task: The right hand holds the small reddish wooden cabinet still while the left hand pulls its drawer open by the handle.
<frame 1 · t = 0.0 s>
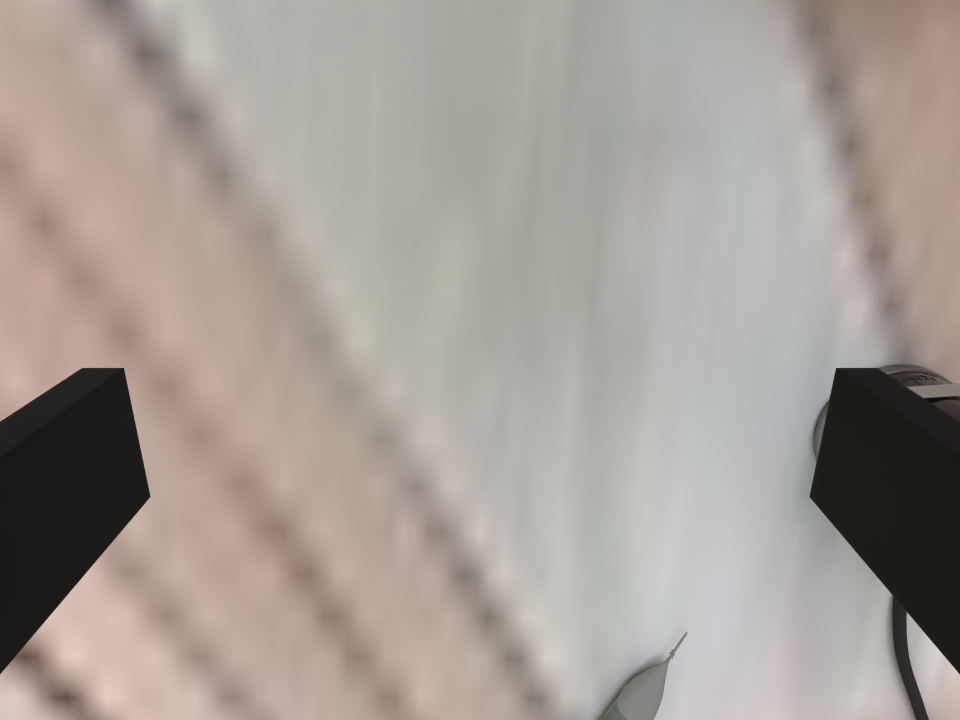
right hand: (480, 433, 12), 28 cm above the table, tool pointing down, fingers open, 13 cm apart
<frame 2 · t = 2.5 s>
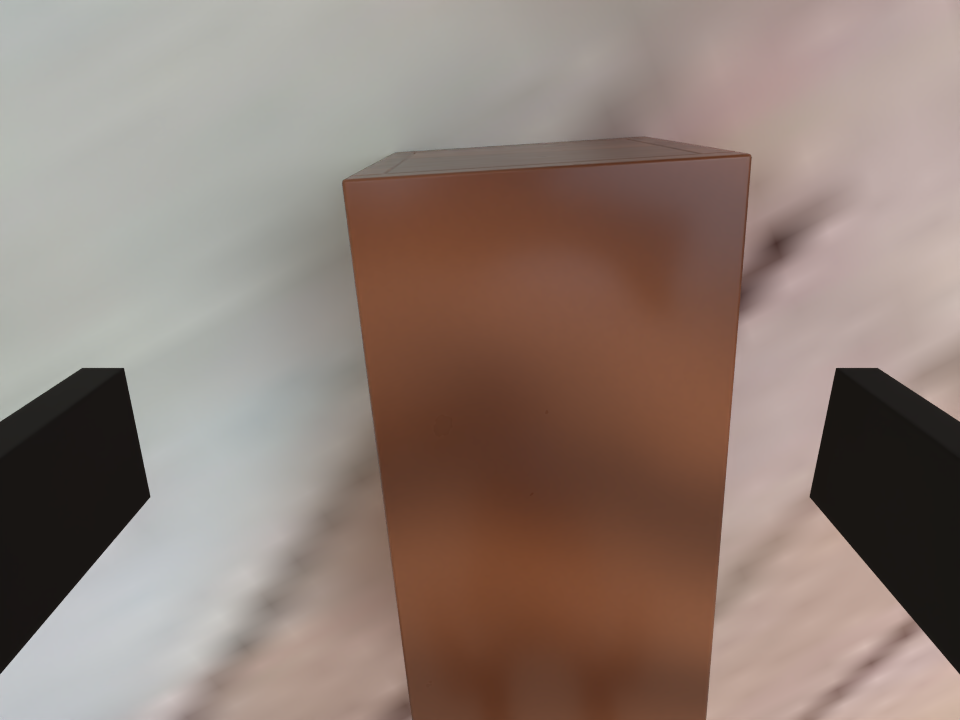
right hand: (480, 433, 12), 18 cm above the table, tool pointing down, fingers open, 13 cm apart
cabinet: (527, 364, 31), on the table
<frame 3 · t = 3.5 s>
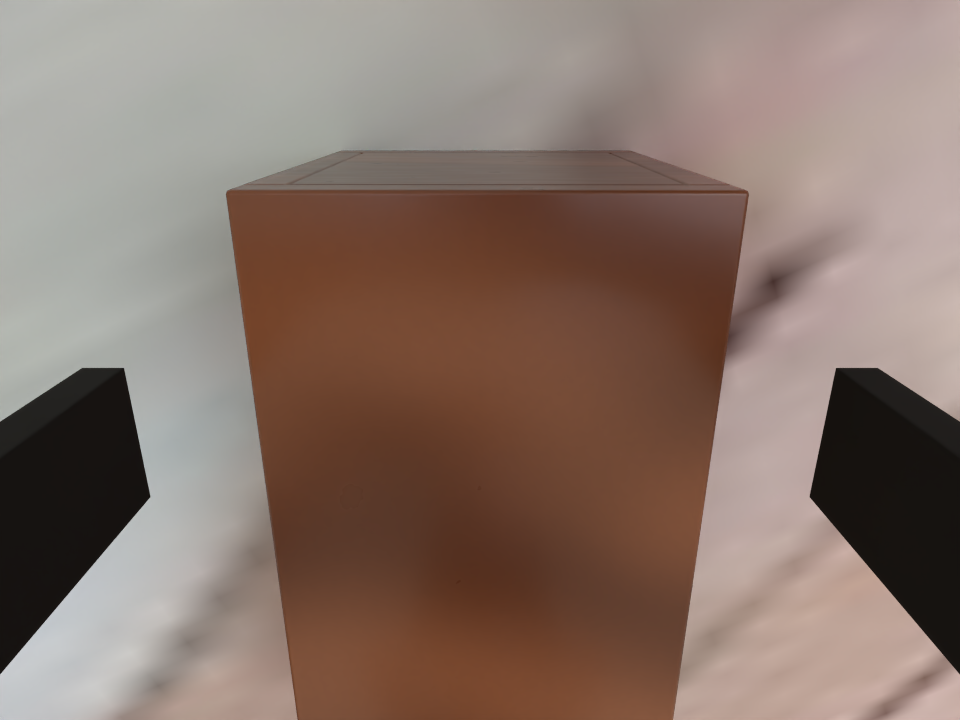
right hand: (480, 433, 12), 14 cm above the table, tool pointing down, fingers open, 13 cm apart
cabinet: (485, 399, 28), on the table
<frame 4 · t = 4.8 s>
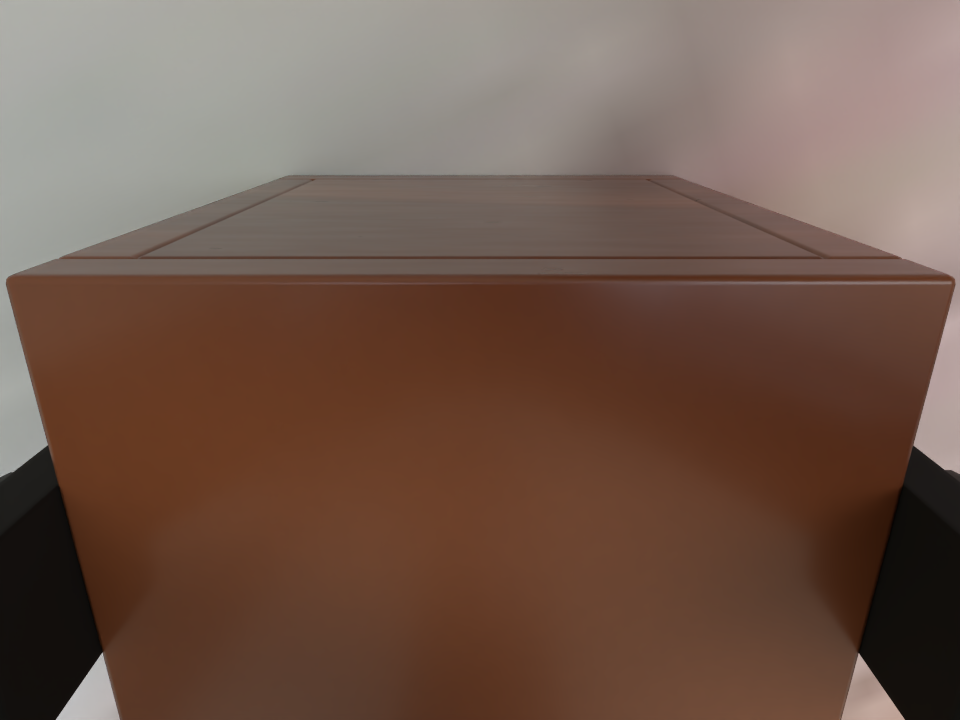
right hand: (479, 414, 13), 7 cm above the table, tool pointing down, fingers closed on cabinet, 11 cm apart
cabinet: (480, 489, 21), on the table, touching right hand
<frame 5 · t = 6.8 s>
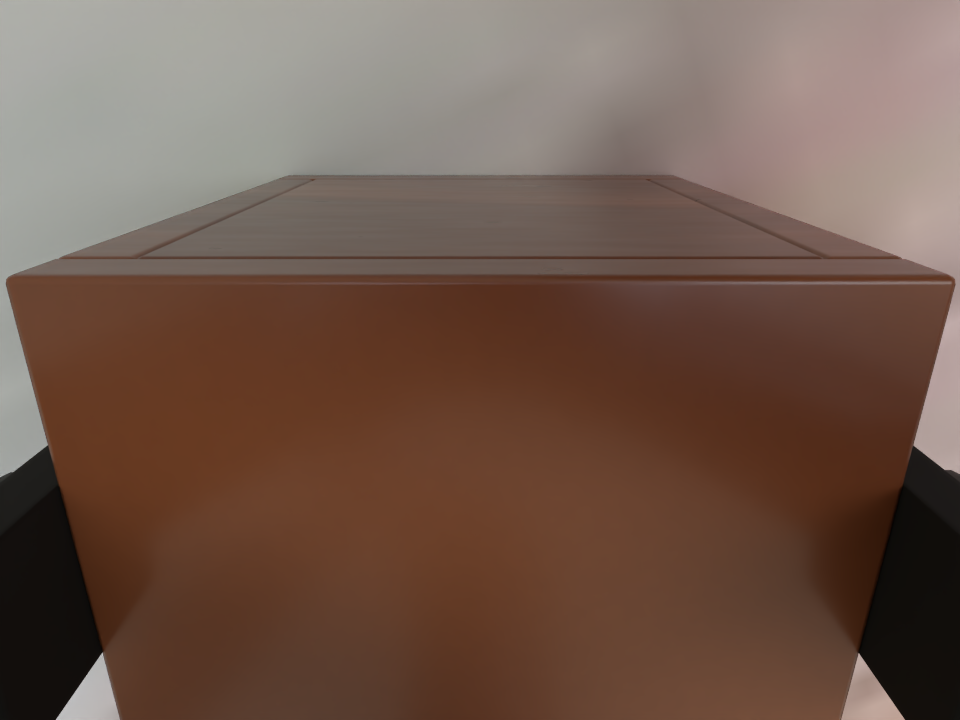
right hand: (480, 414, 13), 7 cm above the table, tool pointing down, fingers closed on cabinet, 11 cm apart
cabinet: (480, 489, 21), on the table, touching right hand
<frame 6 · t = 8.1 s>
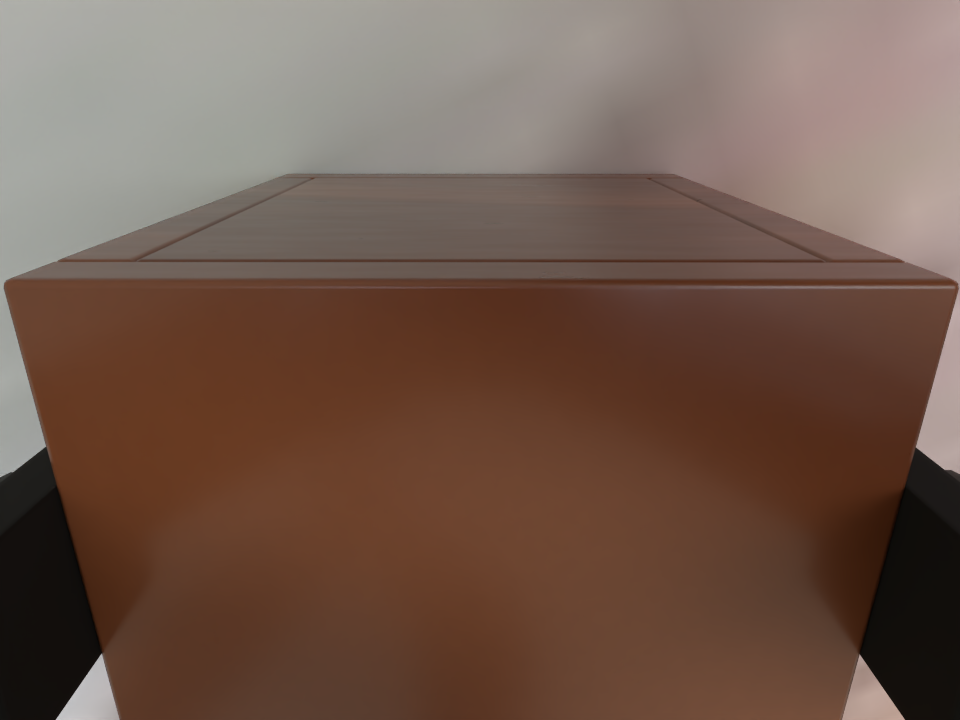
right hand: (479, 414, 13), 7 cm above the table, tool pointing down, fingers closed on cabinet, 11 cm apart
cabinet: (480, 488, 21), on the table, touching right hand
when the right hand's fingers open (7 cm above the table, at t = 9.6 s): cabinet stays where it is, on the table.
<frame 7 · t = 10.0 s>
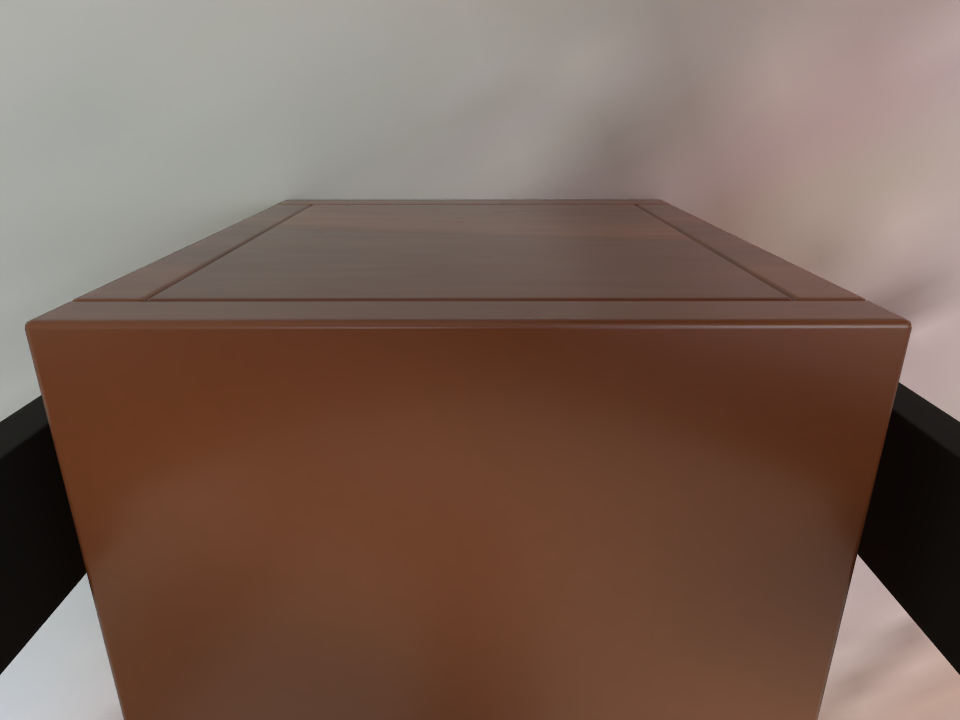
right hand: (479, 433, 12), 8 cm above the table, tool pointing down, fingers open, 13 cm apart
cabinet: (474, 503, 22), on the table
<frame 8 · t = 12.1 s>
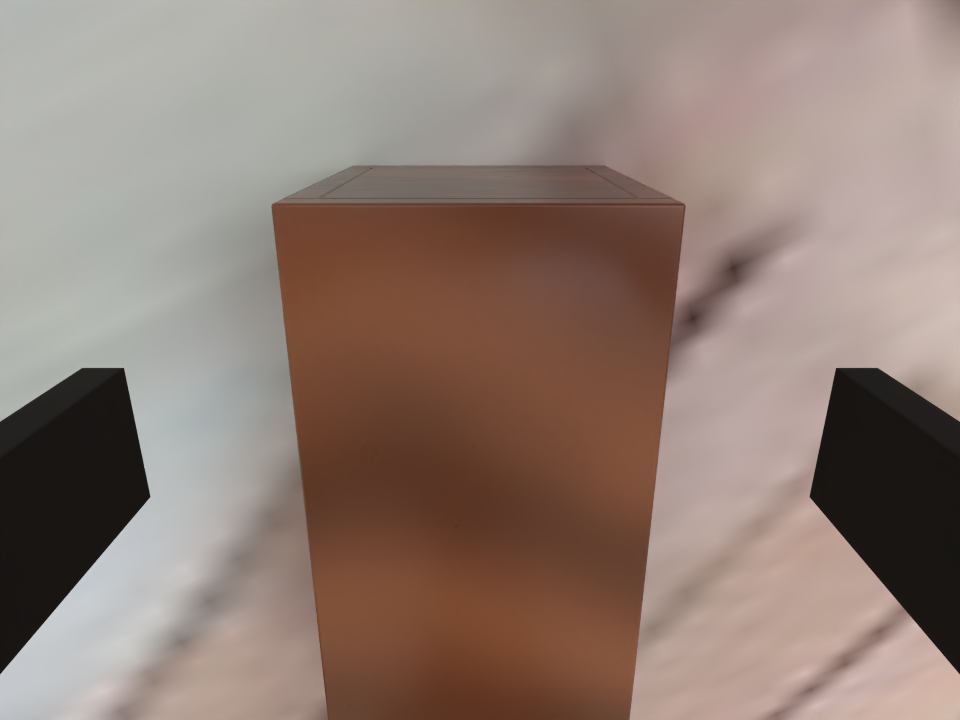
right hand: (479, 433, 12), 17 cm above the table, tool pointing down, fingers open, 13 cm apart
cabinet: (479, 384, 31), on the table
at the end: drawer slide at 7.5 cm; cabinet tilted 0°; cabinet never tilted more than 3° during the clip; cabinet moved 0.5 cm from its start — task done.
